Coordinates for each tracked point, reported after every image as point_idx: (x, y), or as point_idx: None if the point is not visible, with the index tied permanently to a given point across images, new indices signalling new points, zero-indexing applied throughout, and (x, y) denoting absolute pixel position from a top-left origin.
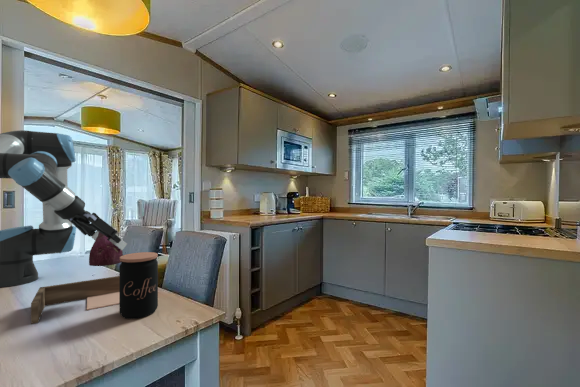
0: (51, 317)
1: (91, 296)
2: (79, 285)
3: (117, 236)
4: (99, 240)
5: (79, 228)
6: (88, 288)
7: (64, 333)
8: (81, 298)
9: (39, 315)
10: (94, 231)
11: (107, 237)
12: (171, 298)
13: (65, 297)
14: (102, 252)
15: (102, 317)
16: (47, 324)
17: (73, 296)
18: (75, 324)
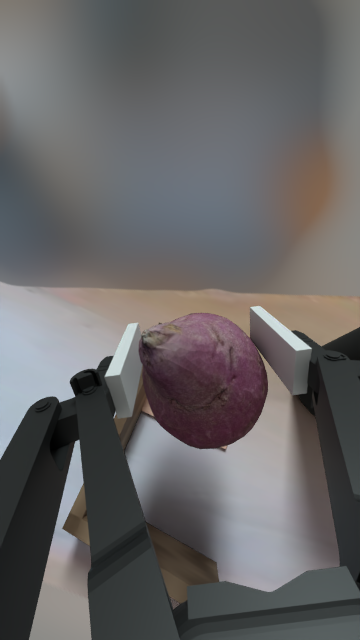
0: (204, 523)
1: (145, 402)
2: (124, 428)
3: (320, 347)
4: (229, 416)
5: (53, 528)
6: (136, 407)
7: (336, 549)
8: (136, 421)
9: (193, 555)
10: (105, 394)
11: (246, 375)
12: (295, 308)
13: None
14: (257, 417)
15: (298, 447)
16: (245, 550)
17: (126, 439)
18: (297, 506)
